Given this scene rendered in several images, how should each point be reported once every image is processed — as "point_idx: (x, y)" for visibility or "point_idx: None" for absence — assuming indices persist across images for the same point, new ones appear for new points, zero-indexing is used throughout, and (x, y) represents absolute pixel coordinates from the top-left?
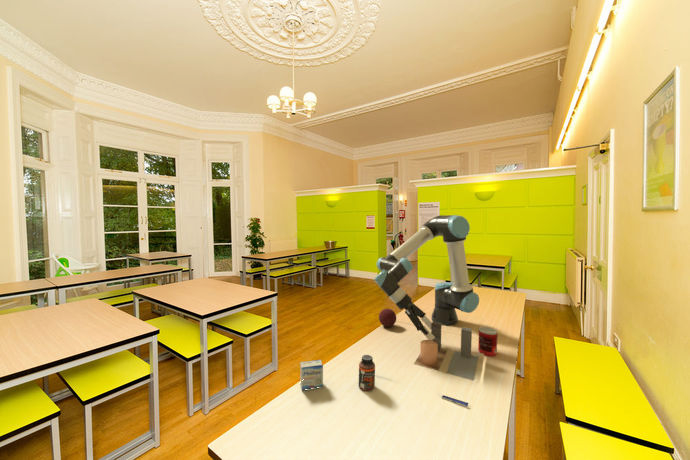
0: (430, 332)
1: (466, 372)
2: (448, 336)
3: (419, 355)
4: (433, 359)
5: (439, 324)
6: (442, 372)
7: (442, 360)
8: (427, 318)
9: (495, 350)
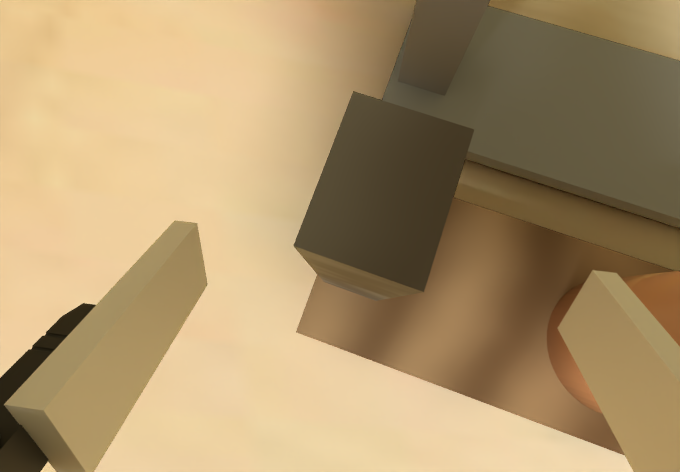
0: (649, 336)
1: (675, 104)
2: (78, 124)
3: (527, 415)
4: None
5: (437, 137)
6: (670, 256)
7: (556, 234)
8: (97, 338)
9: None
